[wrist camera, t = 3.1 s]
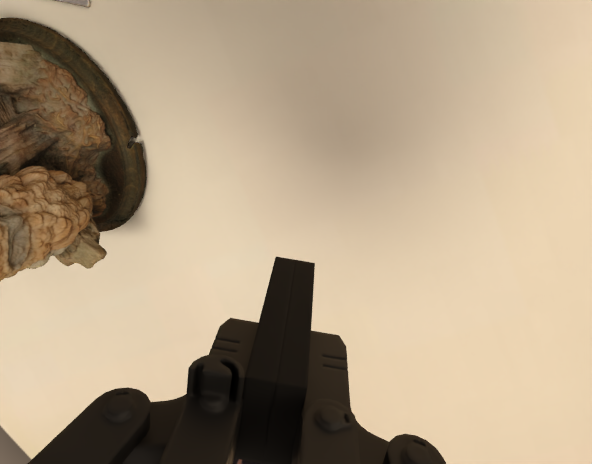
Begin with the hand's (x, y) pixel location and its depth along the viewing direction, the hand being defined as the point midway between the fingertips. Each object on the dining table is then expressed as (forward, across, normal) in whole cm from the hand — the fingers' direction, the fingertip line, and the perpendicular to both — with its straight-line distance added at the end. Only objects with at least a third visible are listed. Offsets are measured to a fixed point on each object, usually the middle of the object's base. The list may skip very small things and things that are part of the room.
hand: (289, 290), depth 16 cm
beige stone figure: (+19, -20, 0) cm, 27 cm away
